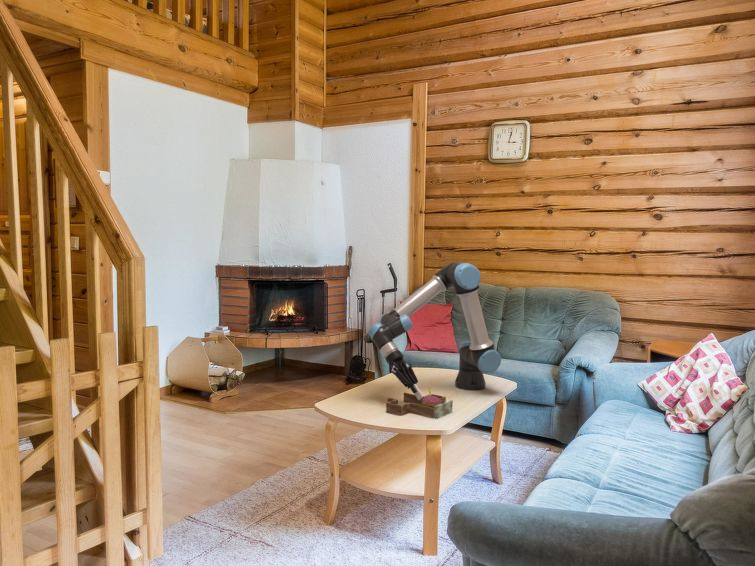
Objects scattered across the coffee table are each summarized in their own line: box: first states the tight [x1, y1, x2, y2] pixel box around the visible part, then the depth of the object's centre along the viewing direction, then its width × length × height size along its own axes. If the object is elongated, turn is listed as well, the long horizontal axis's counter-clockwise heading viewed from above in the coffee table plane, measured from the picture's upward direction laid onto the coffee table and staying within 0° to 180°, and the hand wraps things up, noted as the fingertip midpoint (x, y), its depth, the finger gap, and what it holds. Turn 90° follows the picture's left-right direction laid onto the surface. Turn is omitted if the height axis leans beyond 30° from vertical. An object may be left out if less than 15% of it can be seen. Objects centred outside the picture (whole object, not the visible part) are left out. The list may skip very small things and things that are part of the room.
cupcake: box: [422, 383, 442, 408], centre depth 253 cm, size 9×8×12 cm
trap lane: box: [385, 392, 454, 420], centre depth 257 cm, size 26×25×5 cm
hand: (421, 398), depth 256 cm, fingers closed
